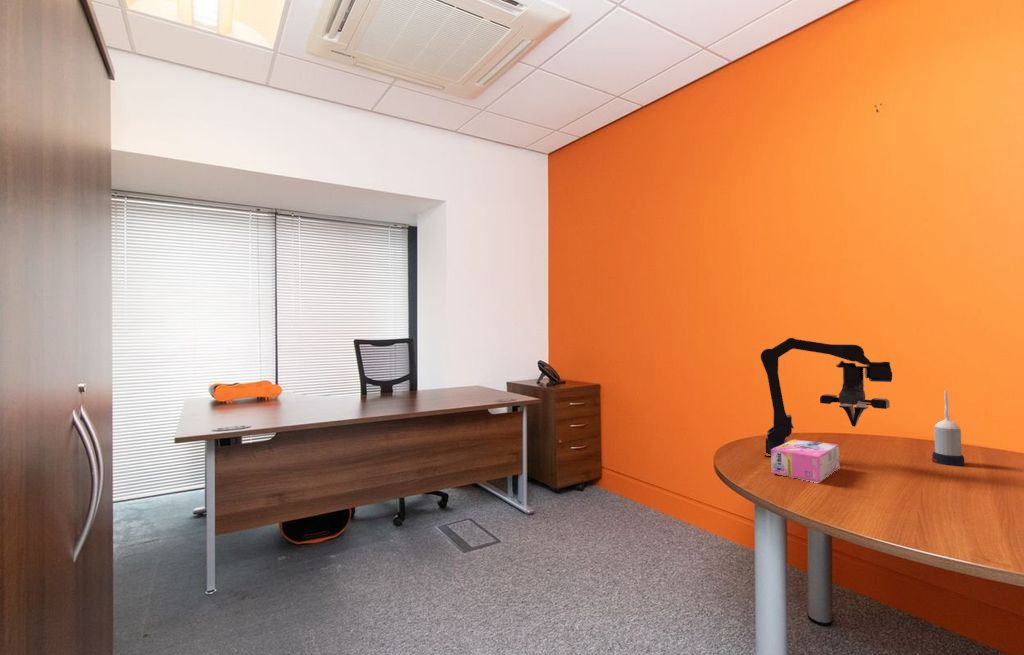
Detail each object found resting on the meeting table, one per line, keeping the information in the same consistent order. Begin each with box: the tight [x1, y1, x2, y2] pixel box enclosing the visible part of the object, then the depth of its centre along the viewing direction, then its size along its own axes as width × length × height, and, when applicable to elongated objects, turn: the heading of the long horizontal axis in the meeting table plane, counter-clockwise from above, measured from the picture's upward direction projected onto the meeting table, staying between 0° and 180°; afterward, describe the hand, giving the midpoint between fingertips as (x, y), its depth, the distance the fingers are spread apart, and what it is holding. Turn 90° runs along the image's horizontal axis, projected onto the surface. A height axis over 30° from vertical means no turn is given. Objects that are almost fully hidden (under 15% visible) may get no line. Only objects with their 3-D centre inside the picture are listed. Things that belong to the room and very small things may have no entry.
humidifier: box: [931, 390, 965, 467], centre depth 162 cm, size 8×8×25 cm
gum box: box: [770, 439, 841, 483], centre depth 153 cm, size 24×8×14 cm
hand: (854, 426), depth 161 cm, fingers closed
